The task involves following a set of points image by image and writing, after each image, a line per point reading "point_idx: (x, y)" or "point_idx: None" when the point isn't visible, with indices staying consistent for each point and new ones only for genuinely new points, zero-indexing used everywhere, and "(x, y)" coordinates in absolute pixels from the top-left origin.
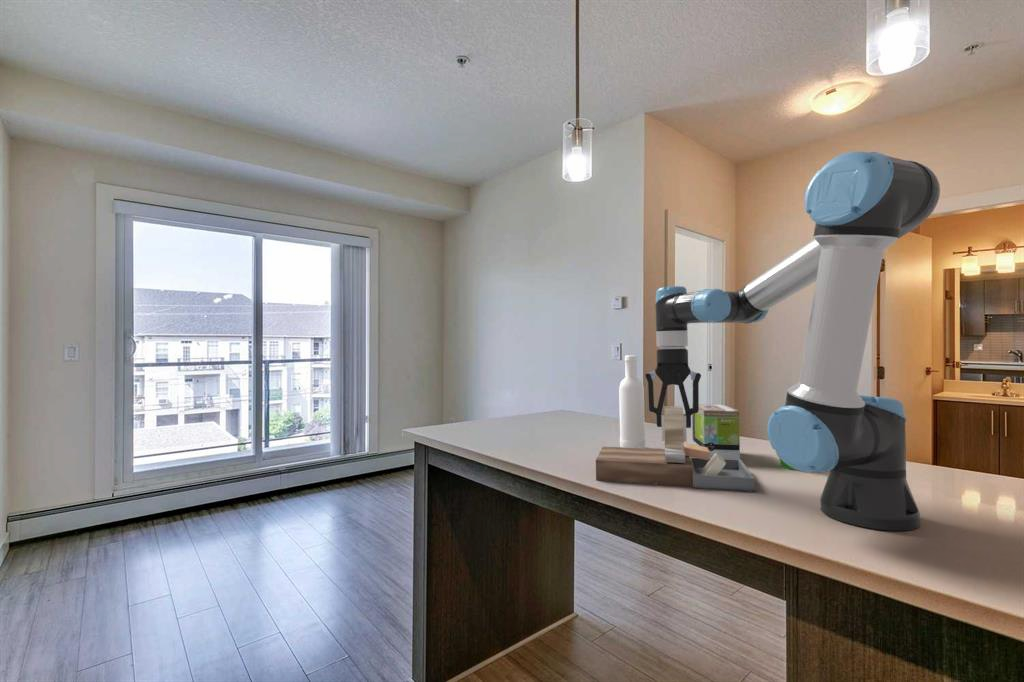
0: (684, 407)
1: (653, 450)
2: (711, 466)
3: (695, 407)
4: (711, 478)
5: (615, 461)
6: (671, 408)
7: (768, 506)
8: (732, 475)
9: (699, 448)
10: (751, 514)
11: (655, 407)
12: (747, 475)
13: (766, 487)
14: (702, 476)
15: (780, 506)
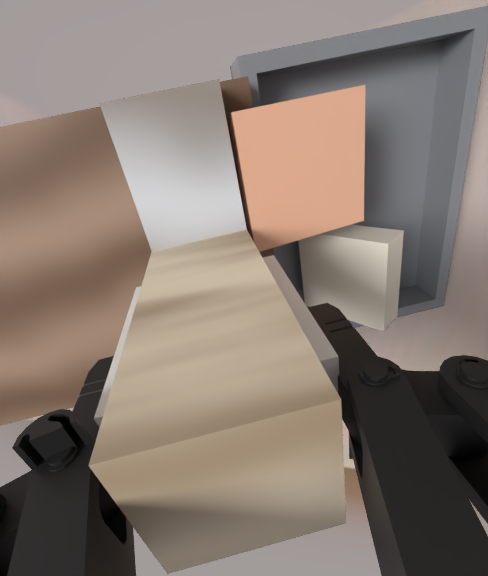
0: (365, 505)
1: (68, 171)
2: (345, 313)
3: (476, 476)
4: None
5: (30, 416)
6: (237, 552)
7: (416, 365)
8: (396, 164)
9: (323, 181)
10: None
11: (15, 530)
12: (436, 258)
13: (461, 231)
14: None
15: (439, 355)
